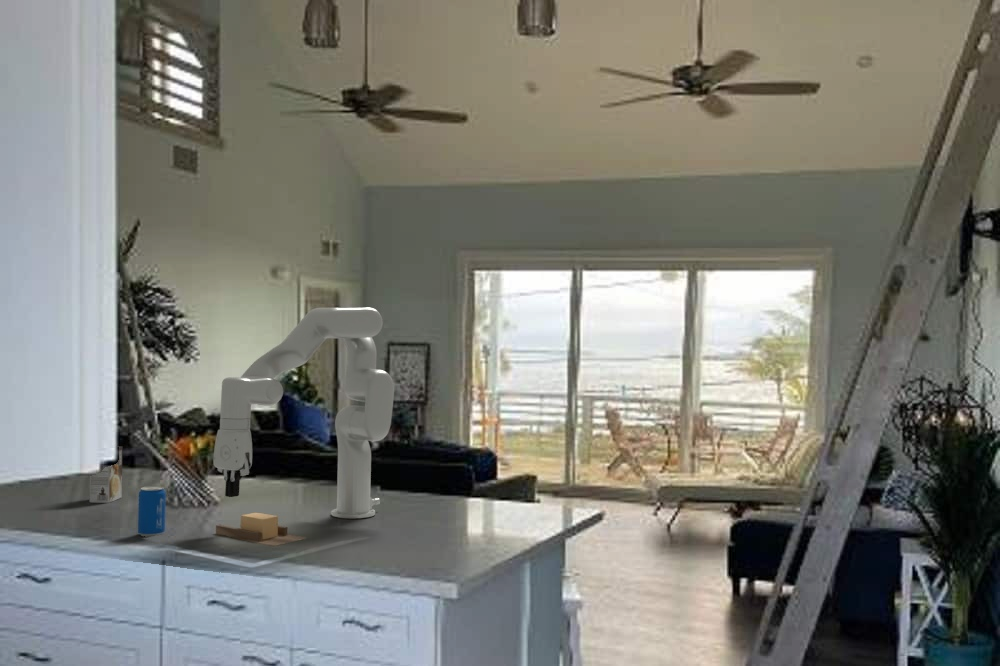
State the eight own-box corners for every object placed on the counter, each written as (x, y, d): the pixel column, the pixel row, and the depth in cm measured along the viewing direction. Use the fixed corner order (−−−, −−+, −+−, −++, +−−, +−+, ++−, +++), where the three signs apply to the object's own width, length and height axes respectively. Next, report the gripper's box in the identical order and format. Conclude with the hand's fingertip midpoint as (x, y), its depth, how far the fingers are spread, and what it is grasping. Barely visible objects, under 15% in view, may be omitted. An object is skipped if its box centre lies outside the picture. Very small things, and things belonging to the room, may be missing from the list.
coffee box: (101, 497, 295) (102, 445, 295) (122, 497, 294) (123, 446, 294) (88, 502, 285) (89, 449, 285) (109, 503, 285) (110, 449, 285)
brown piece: (248, 530, 250) (248, 519, 250) (308, 541, 238) (308, 529, 238) (212, 537, 241) (213, 526, 241) (273, 550, 229) (274, 537, 229)
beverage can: (149, 538, 238) (150, 490, 238) (132, 535, 242) (133, 488, 242) (170, 534, 244) (171, 487, 244) (153, 531, 247) (154, 485, 247)
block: (255, 531, 244) (256, 512, 244) (277, 536, 240) (278, 516, 240) (240, 535, 240) (241, 515, 240) (262, 539, 235) (263, 519, 235)
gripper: (204, 423, 246) (201, 494, 245) (243, 427, 238) (240, 501, 237) (227, 422, 252) (224, 491, 252) (266, 426, 244) (263, 498, 243)
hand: (232, 496), depth 244 cm, fingers closed
